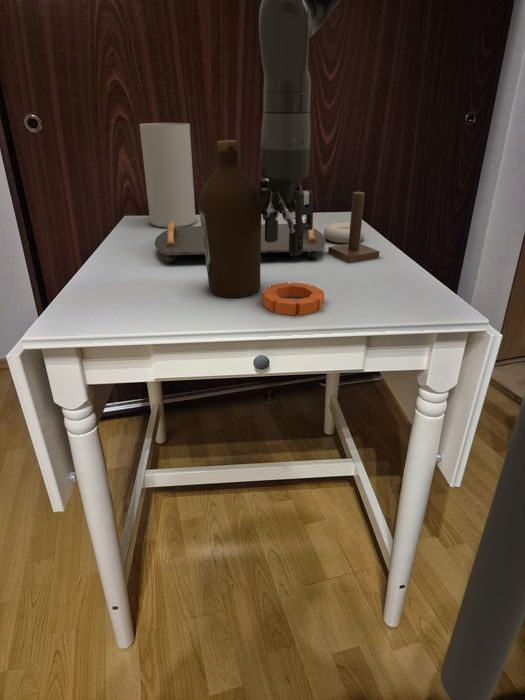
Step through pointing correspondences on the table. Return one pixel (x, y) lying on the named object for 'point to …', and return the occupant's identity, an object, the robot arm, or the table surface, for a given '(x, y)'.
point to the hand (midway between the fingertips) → (282, 247)
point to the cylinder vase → (168, 173)
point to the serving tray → (192, 243)
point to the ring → (278, 292)
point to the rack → (354, 236)
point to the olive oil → (231, 226)
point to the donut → (339, 232)
